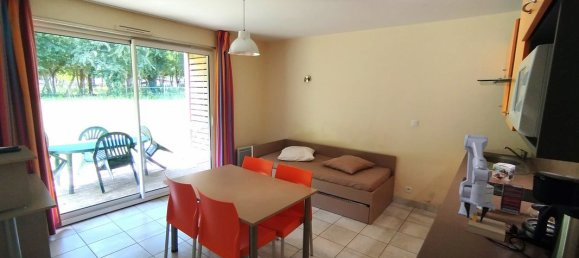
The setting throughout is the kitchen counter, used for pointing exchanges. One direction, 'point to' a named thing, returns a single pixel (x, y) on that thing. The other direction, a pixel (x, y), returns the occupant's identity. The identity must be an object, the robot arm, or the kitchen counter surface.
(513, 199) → the supplement box
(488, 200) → the syrup box
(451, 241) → the kitchen counter surface
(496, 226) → the lid panel
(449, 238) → the kitchen counter surface
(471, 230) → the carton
